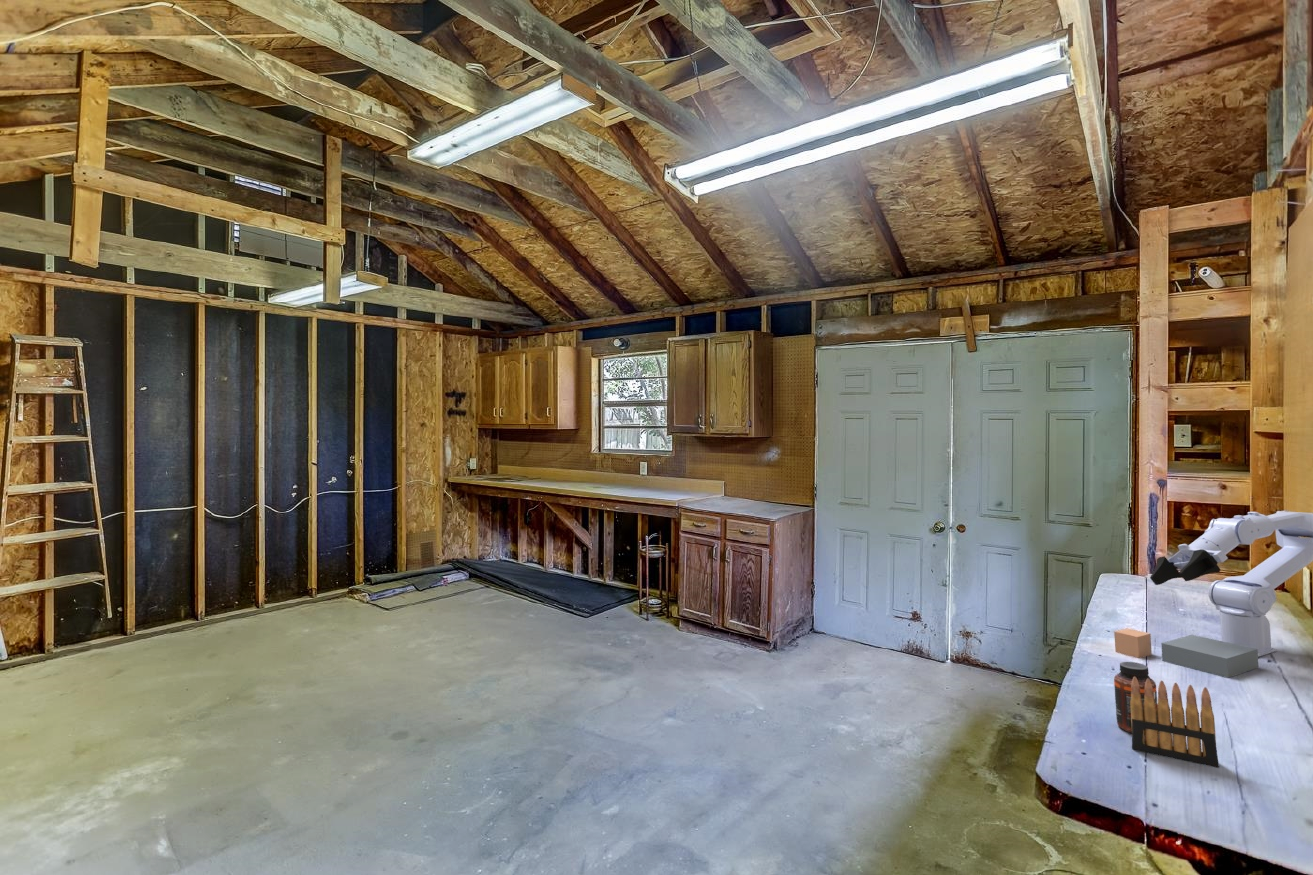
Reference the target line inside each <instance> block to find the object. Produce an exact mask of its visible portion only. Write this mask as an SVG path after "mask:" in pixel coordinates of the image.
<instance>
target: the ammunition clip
mask: <svg viewBox="0 0 1313 875" xmlns="http://www.w3.org/2000/svg"><path fill="white" fill-rule="evenodd" d="M1158 684H1159V685H1158V689H1157V711H1156V704H1155V700H1154V692H1153V687H1152V684H1151V681H1150V680H1149V679H1147V680H1146V683H1145V690H1144V692H1145V695H1144V716H1143V704H1142V700H1141V694H1140V687H1139V683H1138V680H1137V678H1136V677H1135V676H1134V677H1133V680H1132V684H1131V701H1130V705H1131V723H1132V733H1131V749H1132V750H1133V751H1135V752H1142V753H1146V754H1151V755H1156V756H1160V757H1165V758H1169V759H1174V760H1179V761H1183V762H1184V761H1185V762H1189V763H1193V764H1198V765H1204V766H1208V767H1212V768H1216V769H1219V767H1220V764H1219V756H1218V749H1217V737H1216V725H1215V723H1216V722H1215V715H1214V712H1213V706H1212V699H1211V695H1210V692H1209V691H1210V690H1208V688H1207V686H1204V688H1203V689H1202V692H1201V698H1200V699H1201V700H1200V701H1201V704H1200V707H1201V708H1200V709H1201V710H1200V713H1199V710H1198V704H1197V696H1196V693H1195V689H1194V688H1193V685H1191V684H1189V685H1188V687H1187V690H1186V698H1185V699H1186V708H1185V710H1184V707H1183V706H1184V705H1183V700H1182V692H1181V689H1180V686H1179V685H1178V683H1177V682H1174V684H1173V686H1172V690H1171V707H1170V704H1169V699H1168V697H1169V696H1168V691H1167V688H1166V684H1165V683H1164V681H1163V680H1160V682H1159V683H1158ZM1157 713H1158V720H1157ZM1144 729H1145V730H1144ZM1158 731H1159V732H1158Z"/></svg>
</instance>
